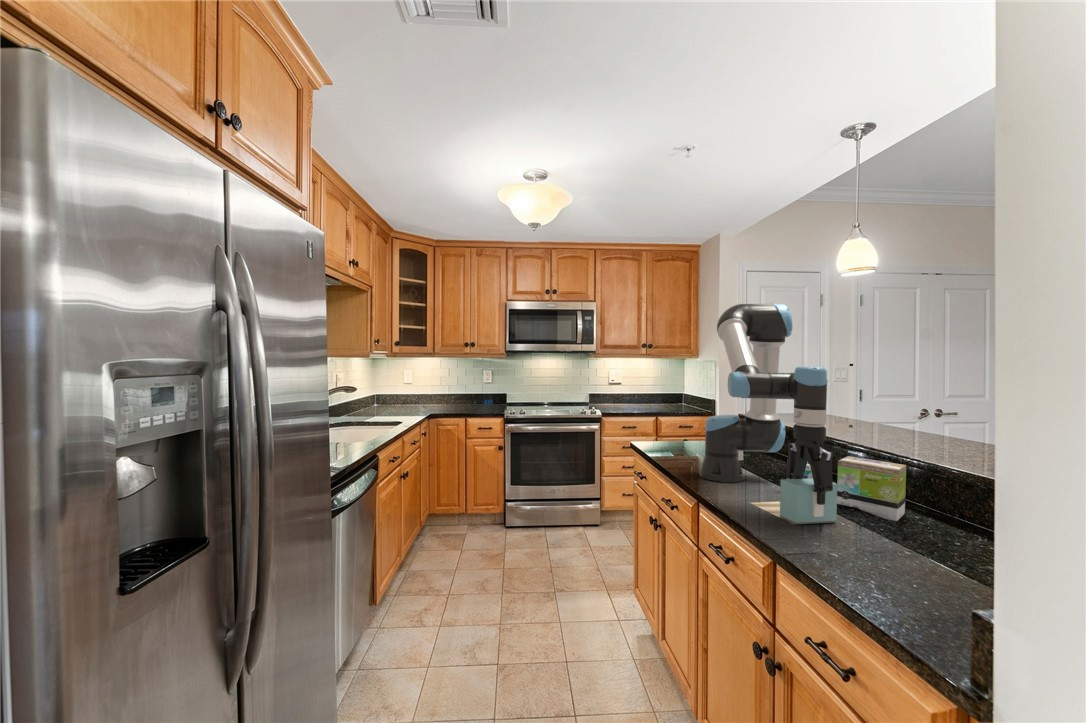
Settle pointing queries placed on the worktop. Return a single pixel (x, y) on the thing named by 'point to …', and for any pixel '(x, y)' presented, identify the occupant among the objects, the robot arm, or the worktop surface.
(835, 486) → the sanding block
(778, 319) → the robot arm
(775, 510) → the birch board
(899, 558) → the worktop surface
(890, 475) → the tea box
